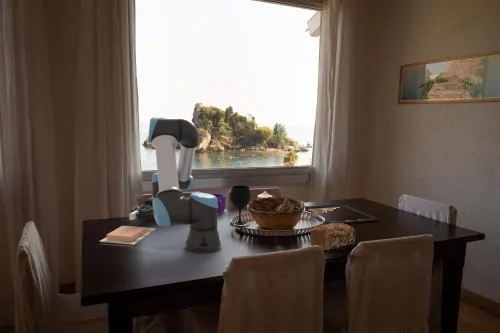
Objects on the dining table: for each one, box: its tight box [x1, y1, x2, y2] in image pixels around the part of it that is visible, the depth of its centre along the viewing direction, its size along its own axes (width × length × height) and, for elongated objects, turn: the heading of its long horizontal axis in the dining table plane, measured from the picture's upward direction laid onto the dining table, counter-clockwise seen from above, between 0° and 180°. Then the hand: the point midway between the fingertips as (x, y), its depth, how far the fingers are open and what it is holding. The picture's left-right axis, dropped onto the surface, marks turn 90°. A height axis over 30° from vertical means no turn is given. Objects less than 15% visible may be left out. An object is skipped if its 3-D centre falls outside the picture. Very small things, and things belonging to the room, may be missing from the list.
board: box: [99, 225, 157, 248], centre depth 175 cm, size 24×16×1 cm, turn 171°
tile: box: [106, 225, 146, 242], centre depth 173 cm, size 2×12×14 cm
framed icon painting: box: [304, 204, 378, 224], centre depth 225 cm, size 38×35×3 cm
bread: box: [309, 223, 357, 251], centre depth 171 cm, size 19×11×10 cm, turn 121°
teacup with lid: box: [257, 191, 273, 200], centre depth 231 cm, size 12×9×12 cm
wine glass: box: [229, 184, 251, 227], centre depth 199 cm, size 10×10×20 cm
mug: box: [210, 193, 227, 215], centre depth 221 cm, size 17×11×10 cm, turn 22°
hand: (131, 217), depth 176 cm, fingers closed
